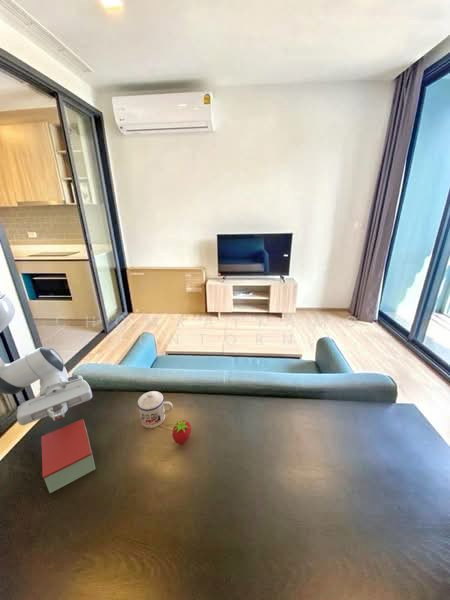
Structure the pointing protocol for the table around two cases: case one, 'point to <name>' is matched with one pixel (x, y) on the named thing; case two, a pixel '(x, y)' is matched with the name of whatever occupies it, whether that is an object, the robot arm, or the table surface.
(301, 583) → the table surface
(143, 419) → the teacup with lid
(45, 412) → the robot arm
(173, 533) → the table surface
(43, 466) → the lid
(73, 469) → the box
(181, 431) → the strawberry
